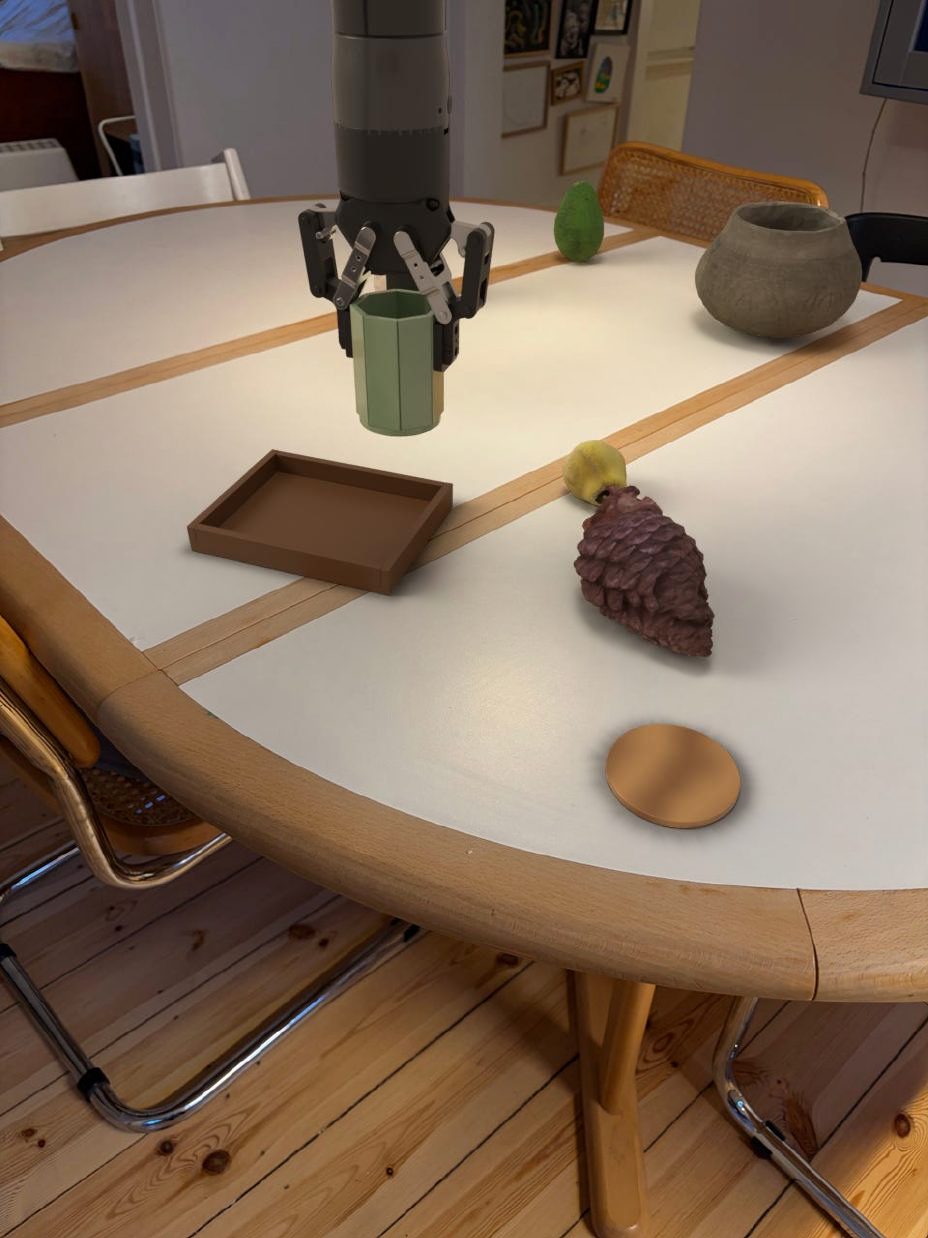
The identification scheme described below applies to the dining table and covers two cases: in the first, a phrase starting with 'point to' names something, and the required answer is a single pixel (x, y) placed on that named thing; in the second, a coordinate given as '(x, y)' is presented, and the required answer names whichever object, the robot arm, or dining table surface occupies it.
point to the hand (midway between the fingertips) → (399, 360)
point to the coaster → (672, 775)
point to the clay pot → (780, 270)
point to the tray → (324, 520)
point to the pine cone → (646, 573)
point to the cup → (395, 363)
